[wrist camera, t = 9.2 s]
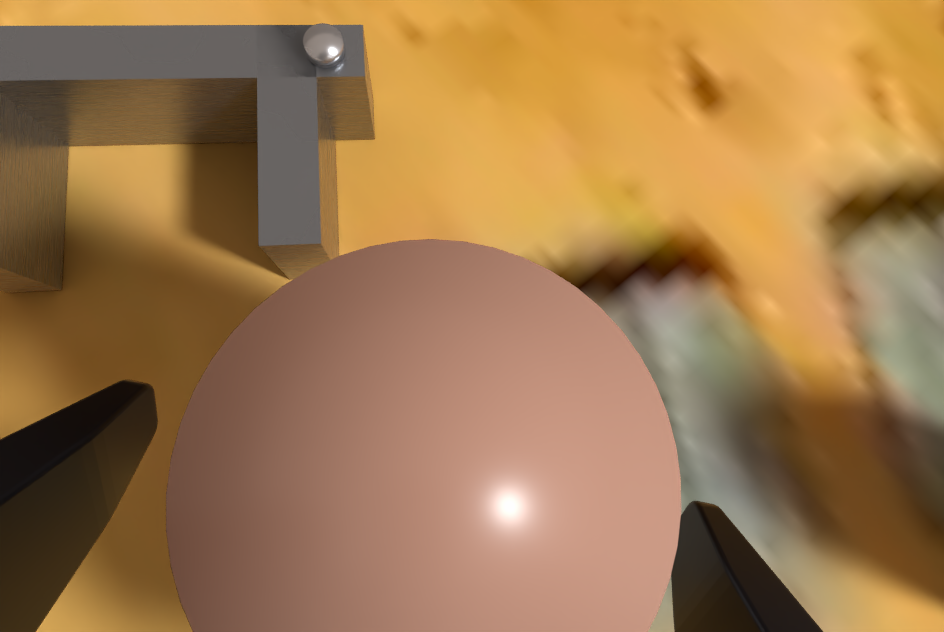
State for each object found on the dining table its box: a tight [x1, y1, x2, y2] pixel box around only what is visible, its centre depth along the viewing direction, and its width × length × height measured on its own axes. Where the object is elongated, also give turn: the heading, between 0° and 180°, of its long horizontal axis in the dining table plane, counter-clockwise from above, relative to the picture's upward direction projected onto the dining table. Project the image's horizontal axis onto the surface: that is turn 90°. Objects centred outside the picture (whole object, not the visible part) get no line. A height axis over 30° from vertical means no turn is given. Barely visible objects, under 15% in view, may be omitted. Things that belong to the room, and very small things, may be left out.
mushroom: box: [166, 239, 681, 632], centre depth 11 cm, size 5×5×12 cm
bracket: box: [0, 23, 375, 293], centre depth 16 cm, size 6×12×4 cm, turn 94°
